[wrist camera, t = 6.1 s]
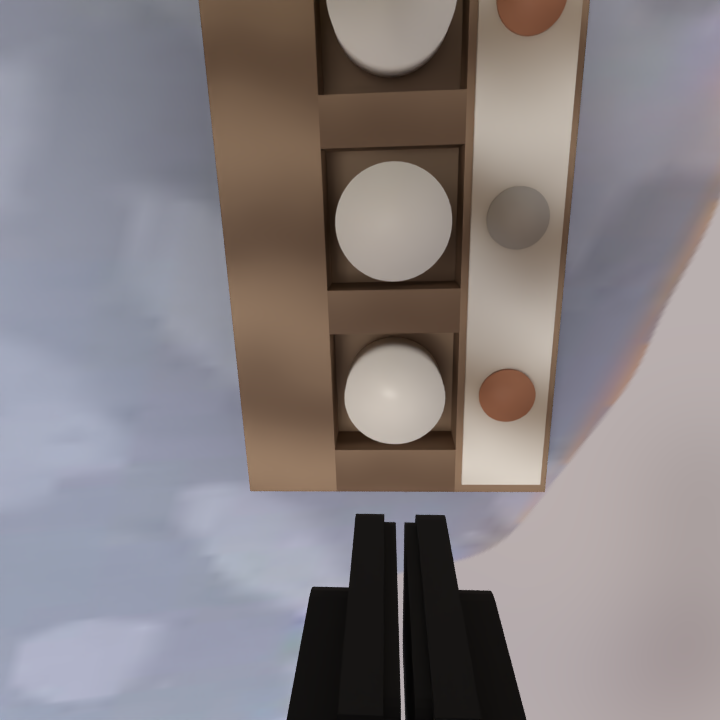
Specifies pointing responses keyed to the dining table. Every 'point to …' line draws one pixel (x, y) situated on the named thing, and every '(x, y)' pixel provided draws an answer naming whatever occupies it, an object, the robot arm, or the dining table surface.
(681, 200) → the dining table surface
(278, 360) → the button board
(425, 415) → the button
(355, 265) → the button
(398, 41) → the button
